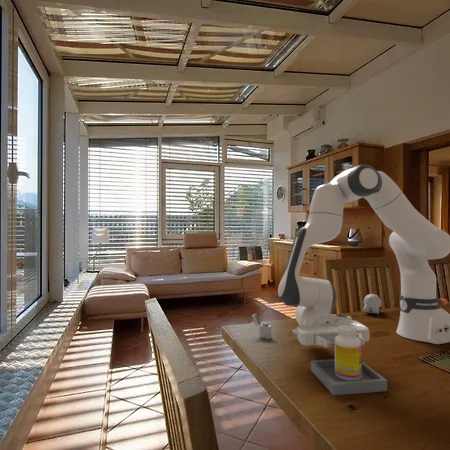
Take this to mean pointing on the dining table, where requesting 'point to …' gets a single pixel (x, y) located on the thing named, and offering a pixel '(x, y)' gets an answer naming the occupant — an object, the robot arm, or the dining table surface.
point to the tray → (341, 387)
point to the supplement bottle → (348, 354)
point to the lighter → (262, 327)
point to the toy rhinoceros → (372, 304)
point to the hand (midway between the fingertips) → (345, 343)
